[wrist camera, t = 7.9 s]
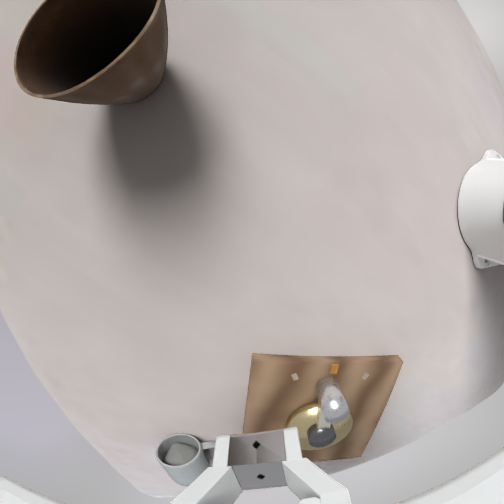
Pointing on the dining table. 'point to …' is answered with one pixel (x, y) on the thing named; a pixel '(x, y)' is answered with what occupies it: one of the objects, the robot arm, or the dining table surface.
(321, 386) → the brass and silver crank
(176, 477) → the ceramic mug
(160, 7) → the plant pot
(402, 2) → the dining table surface
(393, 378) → the brown flat wooden board
